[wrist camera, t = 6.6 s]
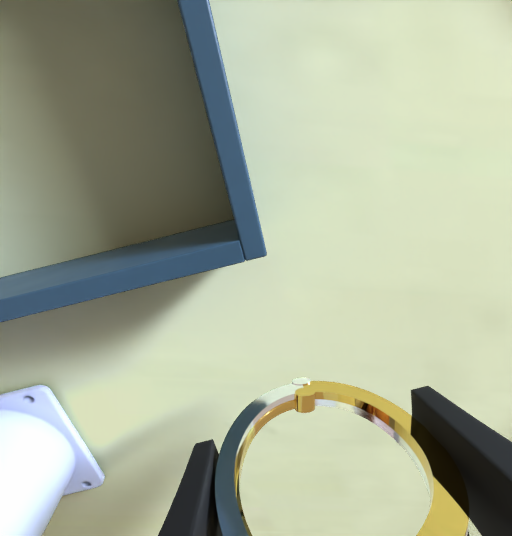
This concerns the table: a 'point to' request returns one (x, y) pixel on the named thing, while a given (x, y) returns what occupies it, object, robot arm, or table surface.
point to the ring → (368, 406)
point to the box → (170, 247)
